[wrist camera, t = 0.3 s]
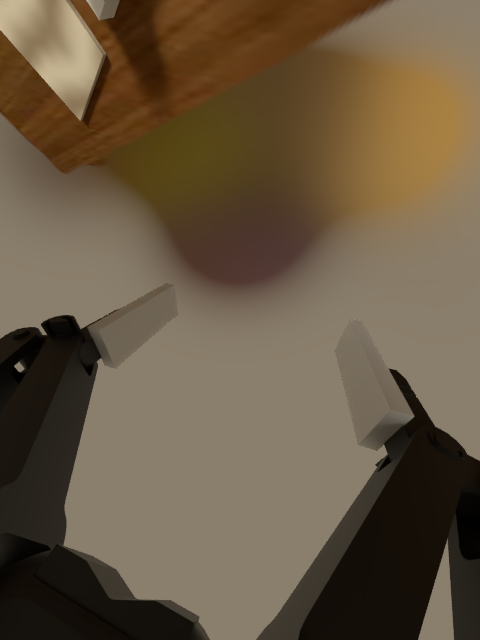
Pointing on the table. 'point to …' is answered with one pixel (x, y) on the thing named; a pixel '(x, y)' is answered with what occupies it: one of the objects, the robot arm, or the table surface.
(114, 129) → the table surface
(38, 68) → the board
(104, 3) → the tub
